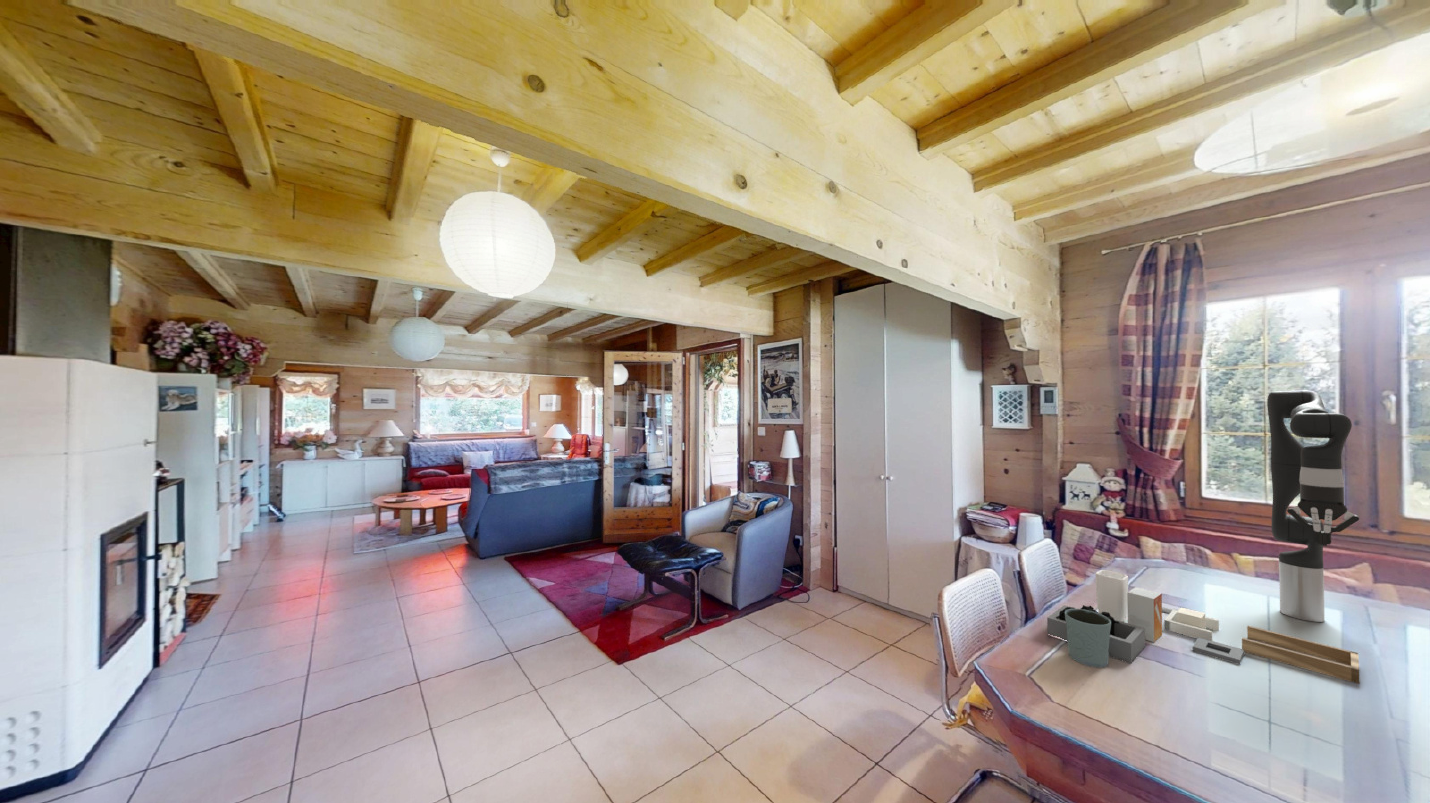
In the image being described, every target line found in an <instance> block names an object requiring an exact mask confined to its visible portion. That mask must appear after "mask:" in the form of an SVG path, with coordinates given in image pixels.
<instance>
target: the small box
mask: <svg viewBox="0 0 1430 803" xmlns="http://www.w3.org/2000/svg"><path fill="white" fill-rule="evenodd" d="M1162 594H1163V593H1162V592H1159V591H1154V590H1150V589H1146V588H1142V587H1138V586H1135V587H1133V588H1131V589H1130V590H1128V592H1127V601H1128V605H1127V623H1128V624H1132V625H1135V626H1139V627H1142V628H1145V641H1149V642H1151V643H1152V642H1153V643H1155V642H1156V641H1157V640H1158V639H1160V637H1162V636H1163V612H1162V607H1163V603H1162V602H1163V598H1162V597H1163V596H1162Z"/></svg>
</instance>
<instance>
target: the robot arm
mask: <svg viewBox="0 0 1430 803" xmlns="http://www.w3.org/2000/svg"><path fill="white" fill-rule="evenodd" d="M1266 403H1267V404H1266V406H1267V413H1268V414H1267V415H1268V416H1267V417H1268V422H1269V423H1268V424H1269V431H1270V473H1271V474H1270V475H1271V484H1272V486H1271V487H1272V503H1271V504H1272V509H1271V534H1272V536H1273V538H1274V539H1275V540H1277V541H1279V542H1285V543H1291V544H1298V545H1306V546H1307V547H1306V548H1304V549H1298V550H1290V551H1281V552H1280V553H1279V554H1278V570H1279V571H1278V573H1279V577H1278V580H1279V612H1280V613H1282V614H1284V615H1286V616H1288V617H1292V618H1295V619H1299V620H1302V621H1303V620H1304V621H1309V622H1314V623H1315V622H1317V623H1321V622H1325V576H1324V572H1325V571H1324V570H1325V569H1324V547H1328V545H1331V544H1332V534H1333V533H1341V532H1342V531H1344V530H1345V529H1347V528H1348V527H1350V526H1352V525H1353V524H1355V523H1356V522H1359V520H1360V516H1359V515H1357V514H1354V513H1351V512H1350V511H1348V508H1347V507H1346V505H1345V486H1344V485H1345V483H1344V480H1345V479H1344V474H1343V471H1342V468H1343V467H1342V466H1343V465H1342V454H1343V449H1344V445H1345V443H1346V441H1347V439H1348V436H1349V434H1350V432H1351V430H1352V427H1353V425H1352V420H1351V418H1349V417H1348V416H1347V415H1345V414H1343V413H1338V412H1337V413H1336V412H1331V413H1330V412H1329V411H1327V410H1326V409H1325V408H1326V407H1325V405H1324V402H1323V399H1322V397H1321V396H1320V394H1319V393H1317V392H1316V391H1313V390H1305V389H1304V390H1279V391H1278V390H1277V391H1271V392H1270V393H1269V394H1268V395H1267V400H1266ZM1285 419H1290V422H1289V427H1290V428H1289V429H1290V431H1289V429H1288V428H1287V426H1286V423H1285ZM1291 432H1292V433H1291ZM1295 436H1297V437H1300V438H1303V439H1304V438H1306V439H1308V438H1309V439H1329V440H1328V441H1326V442H1325V443H1323V444H1319V445H1312V446H1311V445H1310V446H1304V445H1303V444H1301V442H1300V441H1298V440H1297V439H1296V438H1295ZM1298 496H1299V497H1300V498H1299V502H1298V503H1297V505H1296V506H1293V507H1289V506H1290V505H1291V504H1292V503H1293V502H1294V501H1295V499H1296V498H1297V497H1298ZM1302 512H1303V513H1304V514H1305V515H1306V516H1304V515H1301V514H1302ZM1343 515H1344V517H1343V518H1344V521H1342V522H1341V523H1339V524H1337V525H1336V526H1332V524H1333V521H1336V520H1338V519H1339V518H1340V517H1342V516H1343Z"/></svg>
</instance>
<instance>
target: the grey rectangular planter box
mask: <svg viewBox="0 0 1430 803" xmlns="http://www.w3.org/2000/svg"><path fill="white" fill-rule="evenodd" d="M1066 607H1069V606H1067V605H1062V606H1061V607H1060V608H1058V609H1057V610H1056V611H1054V612H1053V613H1051V614H1050V615H1049V616H1047V618H1046V621H1047V622H1046V623H1047V624H1046V625H1047V627H1046V628H1047V635H1048V634H1050V635H1053V636H1057V637H1060V638H1062V639H1064V640H1067V627H1066V626H1067V625H1066V621H1063V620H1060V619H1059V613H1060V611H1062V610H1063V609H1065V608H1066ZM1074 608H1075V607H1074ZM1075 609H1077V608H1075ZM1115 621H1118V620H1115ZM1118 622H1120V624H1118V623H1115V624H1114V634H1115V636H1112V635H1110V639H1109V648H1108V653H1109V657H1110V658H1113V657H1114V658H1113V659H1116V658H1117V660H1120V661H1122V660H1123V662H1125V661H1126V662H1125V663H1128V664H1133V663H1134V661H1135V660H1136V659H1137V658H1136V657H1138V656H1139V655H1140V654H1141V653H1142V652H1143V650H1144V649H1145V648H1146V640H1145V628H1142V627H1139V626H1135V625H1132V624H1128V622H1125V621H1123V622H1121V621H1118ZM1067 641H1068V640H1067ZM1143 648H1144V649H1143ZM1132 662H1133V663H1132Z"/></svg>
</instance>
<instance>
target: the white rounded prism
mask: <svg viewBox="0 0 1430 803" xmlns="http://www.w3.org/2000/svg"><path fill="white" fill-rule="evenodd" d="M1127 592H1129V576H1128V575H1127V574H1125V573H1121V572H1116V571H1112V570H1107V569H1099V570H1098V571H1097V572H1095V594H1096V604H1097V610H1098V611H1097V612H1098V613H1102V612H1109V614H1110V616H1111V617H1113V618H1114V620H1118V621H1121V622H1125V621H1126V618H1127V614H1128V601H1127Z"/></svg>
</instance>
